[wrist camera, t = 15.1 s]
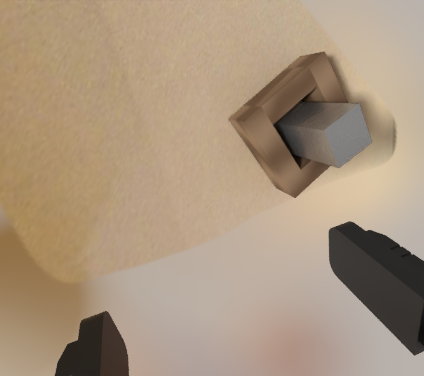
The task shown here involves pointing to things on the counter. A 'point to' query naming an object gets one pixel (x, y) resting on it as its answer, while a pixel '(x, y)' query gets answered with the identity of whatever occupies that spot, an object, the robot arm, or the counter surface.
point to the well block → (277, 107)
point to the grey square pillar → (324, 131)
